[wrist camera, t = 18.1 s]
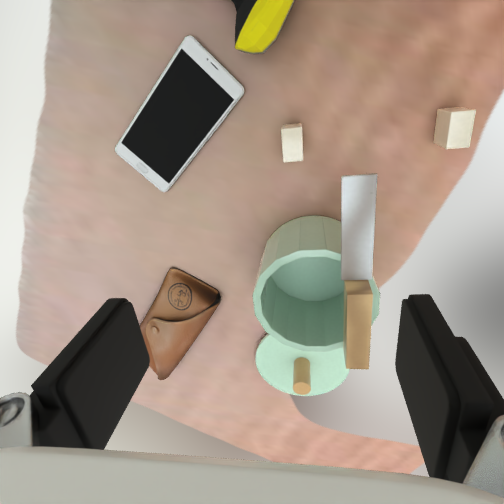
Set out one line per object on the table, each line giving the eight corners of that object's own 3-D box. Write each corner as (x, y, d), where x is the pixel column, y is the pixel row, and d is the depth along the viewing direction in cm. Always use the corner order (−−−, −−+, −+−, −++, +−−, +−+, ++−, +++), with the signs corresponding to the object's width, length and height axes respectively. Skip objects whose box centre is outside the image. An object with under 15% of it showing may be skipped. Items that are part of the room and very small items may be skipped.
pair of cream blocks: (459, 106, 32) (476, 109, 29) (454, 141, 33) (469, 147, 30) (282, 124, 35) (280, 129, 32) (284, 155, 36) (283, 162, 33)
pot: (367, 212, 38) (383, 247, 30) (362, 303, 44) (376, 352, 36) (258, 218, 40) (246, 252, 32) (267, 303, 46) (259, 350, 38)
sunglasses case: (167, 264, 44) (175, 302, 40) (213, 272, 48) (225, 307, 44) (124, 346, 53) (127, 385, 48) (166, 347, 57) (173, 383, 52)
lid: (350, 320, 45) (356, 350, 40) (348, 391, 51) (353, 425, 46) (251, 320, 47) (245, 349, 42) (261, 388, 53) (256, 420, 48)
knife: (376, 173, 27) (383, 182, 25) (367, 349, 36) (371, 369, 33) (341, 175, 28) (344, 185, 25) (340, 349, 36) (343, 368, 34)
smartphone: (112, 150, 38) (187, 31, 32) (114, 149, 39) (189, 32, 32) (164, 194, 40) (246, 90, 33) (166, 193, 40) (247, 90, 34)
